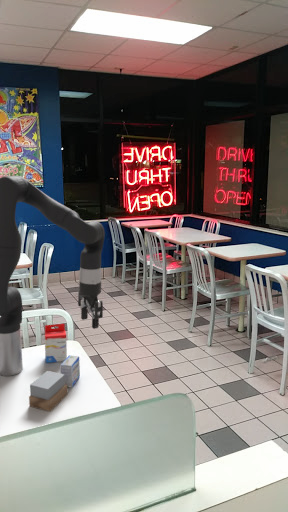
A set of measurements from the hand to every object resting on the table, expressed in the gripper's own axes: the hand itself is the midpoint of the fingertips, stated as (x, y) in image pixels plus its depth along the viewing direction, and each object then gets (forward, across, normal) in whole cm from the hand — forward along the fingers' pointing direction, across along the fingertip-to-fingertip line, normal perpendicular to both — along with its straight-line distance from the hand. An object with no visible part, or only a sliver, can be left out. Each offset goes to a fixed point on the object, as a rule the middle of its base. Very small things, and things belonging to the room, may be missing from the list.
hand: (89, 323), depth 139 cm
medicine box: (+25, -6, -5) cm, 26 cm away
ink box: (+25, -25, -3) cm, 35 cm away
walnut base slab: (+25, +1, -16) cm, 29 cm away
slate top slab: (+21, +1, -16) cm, 26 cm away
